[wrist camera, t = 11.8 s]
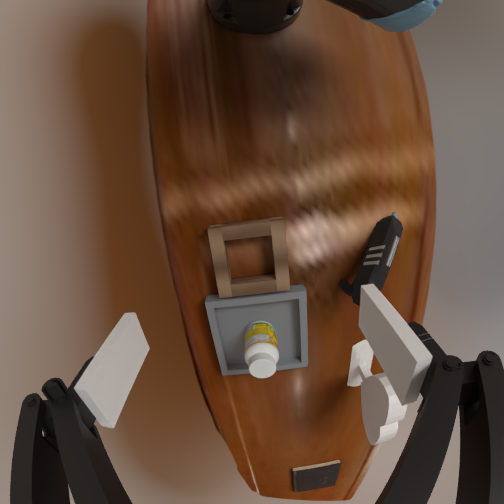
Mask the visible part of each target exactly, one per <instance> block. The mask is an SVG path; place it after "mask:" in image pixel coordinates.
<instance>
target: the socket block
mask: <svg viewBox="0 0 504 504" xmlns="http://www.w3.org/2000/svg"><path fill="white" fill-rule="evenodd" d="M207 230H208V236H209V242H210V248H211V254H212V259H213V265H214V271H215V276H216V281H217V287H218V292H219V297H220V298H225V297H235V296H244V295H253V294H262V293H270V292H278V291H286V290H290V280H289V267H288V255H287V244H286V233H285V222H284V219H283V217H275V218H266V219H257V220H249V221H241V222H233V223H225V224H218V225H210V226H209V228H208V229H207ZM268 235H271V241H272V251H273V260H274V270H275V274H267V275H259V276H250V277H242V278H233V279H231V274H230V267H229V261H228V255H227V248H226V242H225V241H227V240H235V239H243V238H251V237H260V236H268Z"/></svg>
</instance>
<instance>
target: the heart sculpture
mask: <svg viewBox="0 0 504 504" xmlns="http://www.w3.org/2000/svg"><path fill="white" fill-rule="evenodd" d="M372 358H373V350H372V348H371V347H370V345H369V343H368V341H367V340H363V341H361V342H359V343H357V344H356V345H354V346H353V348H352V356H351V364H350V371H349V377H348V383H347V386H359V385H361V402H362V416H363V422H364V428H365V431H366V435H367V438H368V440H369V442H370V444H371V445H375V444H378V443H382V442H385V441H388V440H390V439H392V438H393V437H394V436H395V434H396V433H397V429H398V421H400V420H402V419H403V418H404V416H405V413H406V409H407V404H406V405H403V406H402V405H401V403H400V401H399V399H398V397H397V395H396V393H395V391H394V389H393V387H392V385H391V384H390V382H389V380H388V378H387V376H386V374H385V372H384V373H380V374H376V375H372V373H371V372H370V368H371V363H372Z"/></svg>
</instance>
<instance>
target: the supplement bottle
mask: <svg viewBox="0 0 504 504" xmlns="http://www.w3.org/2000/svg"><path fill="white" fill-rule="evenodd" d="M244 357H245V361H246V363H247V364H248V366H249V371H250V373H251V374H252V375H253V376H254V377H257V378H267V377H270V376H272V375H273V374H274V373H275V371H276V363H277V362H278V360H279V350H278V344H277V337H276V331H275V329H274V327H273V326H272V325H271V324H270V323H268V322H266V321H255V322H253V323H251V324H250V325H249V326H248V327H247V328H246V330H245V353H244Z"/></svg>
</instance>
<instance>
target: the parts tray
mask: <svg viewBox="0 0 504 504" xmlns="http://www.w3.org/2000/svg"><path fill="white" fill-rule="evenodd" d="M205 306H206V310H207V315H208V319H209V323H210V328H211V332H212V336H213V340H214V344H215V348H216V352H217V356H218V360H219V364H220V368H221V372H222V375H236V374H249V373H250V371H249V366H248V364H247V363H246V361H245V357H244V353H245V330H246V328H247V327H248V326H249V325H250V324H251V323H253V322H255V321H266V322H268V323H270V324H271V325H272V326H273V327H274V329H275V331H276V337H277V344H278V350H279V360H278V362H277V363H276V371H277V370H285V369H293V368H300V367H306V366H308V330H307V298H306V289H305V287H304V285H303V284H301V285H293V286H290V290H286V291H278V292H270V293H262V294H253V295H244V296H235V297H225V298H220V297H219V294H215V295H207V296H206V300H205Z"/></svg>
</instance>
